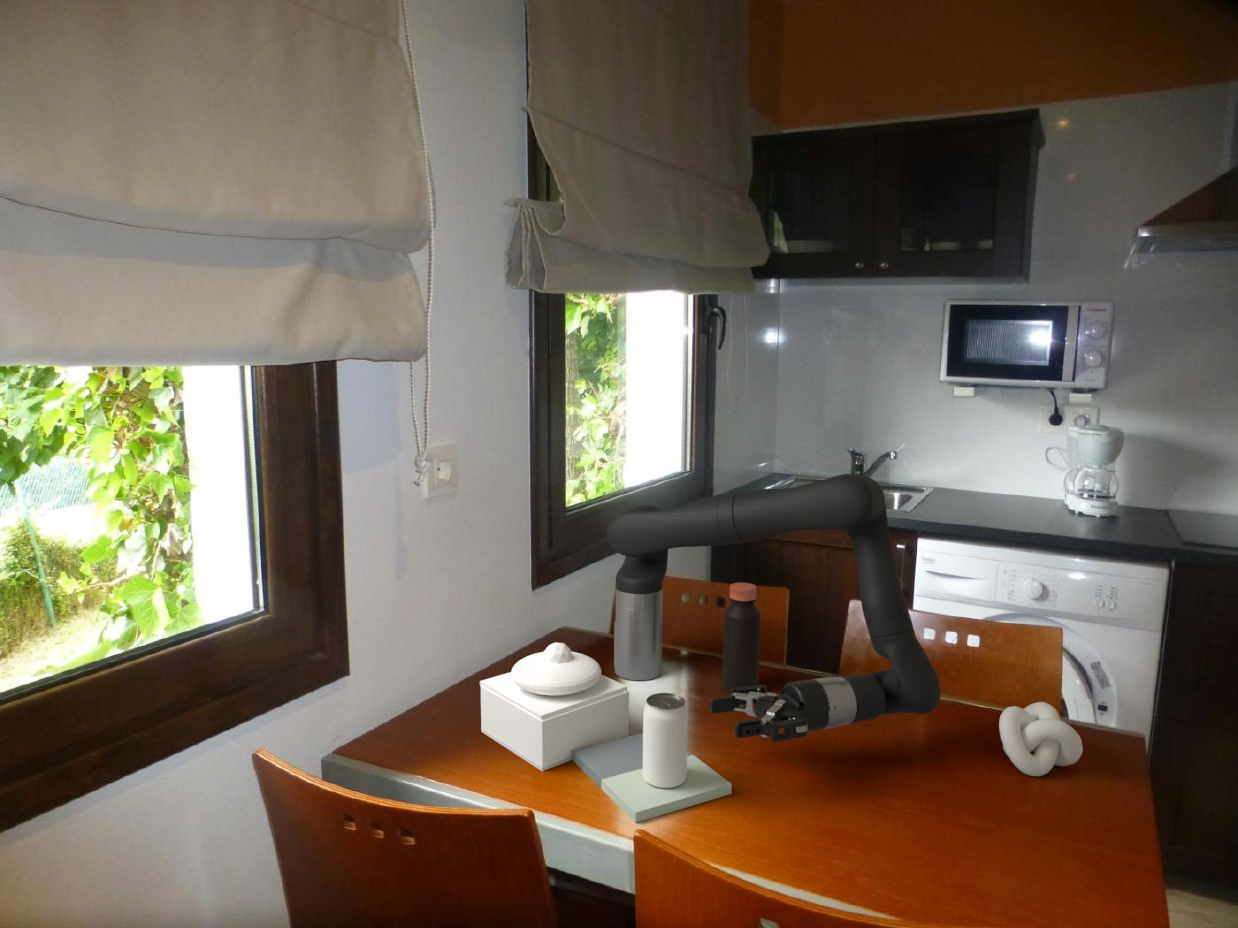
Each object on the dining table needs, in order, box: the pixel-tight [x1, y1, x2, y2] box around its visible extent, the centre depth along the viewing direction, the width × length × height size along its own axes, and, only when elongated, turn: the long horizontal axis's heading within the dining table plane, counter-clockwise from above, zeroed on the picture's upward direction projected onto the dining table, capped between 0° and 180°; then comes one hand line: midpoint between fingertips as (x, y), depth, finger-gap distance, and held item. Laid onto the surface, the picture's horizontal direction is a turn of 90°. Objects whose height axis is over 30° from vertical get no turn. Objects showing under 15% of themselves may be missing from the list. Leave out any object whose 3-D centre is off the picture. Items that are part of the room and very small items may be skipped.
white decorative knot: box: [998, 701, 1084, 777], centre depth 131 cm, size 11×12×9 cm
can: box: [642, 692, 689, 789], centre depth 123 cm, size 6×6×12 cm
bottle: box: [721, 582, 762, 694], centre depth 159 cm, size 7×7×20 cm
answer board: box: [571, 732, 733, 824], centre depth 127 cm, size 20×16×2 cm
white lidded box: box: [479, 642, 630, 772], centre depth 140 cm, size 18×18×16 cm
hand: (723, 717), depth 126 cm, fingers open, 8 cm apart
